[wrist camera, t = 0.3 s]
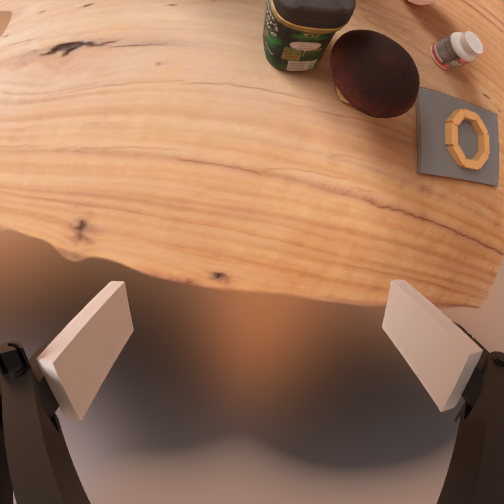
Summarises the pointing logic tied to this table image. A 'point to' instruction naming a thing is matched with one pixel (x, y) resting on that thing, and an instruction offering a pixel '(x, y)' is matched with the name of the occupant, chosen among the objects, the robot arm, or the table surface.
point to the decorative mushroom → (374, 74)
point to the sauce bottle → (423, 1)
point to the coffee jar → (302, 30)
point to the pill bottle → (456, 49)
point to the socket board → (456, 138)
